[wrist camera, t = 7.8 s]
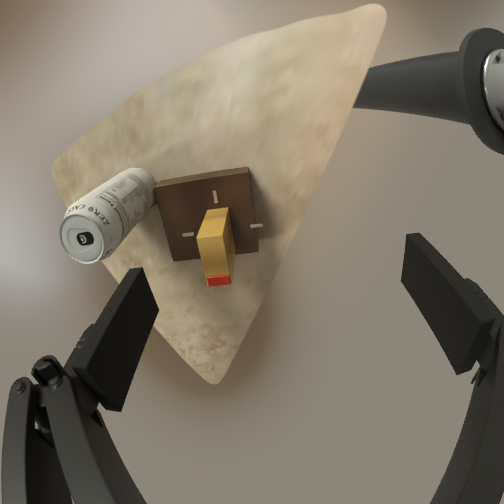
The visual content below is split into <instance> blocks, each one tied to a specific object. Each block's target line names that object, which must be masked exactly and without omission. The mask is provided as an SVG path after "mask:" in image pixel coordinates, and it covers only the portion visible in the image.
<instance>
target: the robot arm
mask: <svg viewBox="0 0 504 504" xmlns="http://www.w3.org/2000/svg"><path fill="white" fill-rule="evenodd" d="M480 86H481V92H482V97H483V101H484V104H485V107H486V109H487V112H488V114H489V116H490V118H491V119H492V121H493V122H494V124H495V125H496V126H497V127H498V128H499V129H500V130H501V131H502V132H504V49H492V50H490V51H489V52H487V53H486V55H485V56H484V58H483V60H482V63H481V69H480ZM401 282H402V283H403V285H404V286H405V288H406V289H407V291H408V292H409V294H410V296H411V297H412V299H413V300H414V302H415V303H416V305H417V306H418V308H419V310H420V311H421V313H422V315H423V316H424V318H425V319H426V321H427V323H428V324H429V326H430V328H431V329H432V331H433V333H434V335H435V336H436V338H437V340H438V341H439V343H440V345H441V347H442V349H443V350H444V352H445V354H446V356H447V358H448V360H449V361H450V363H451V365H452V367H453V369H454V371H455V373H456V375H459V374H461V373H464V372H467V371H469V370H471V369H472V367H473V365H474V363H475V362H476V360H477V361H478V363H479V364H480V367H479V369H478V371H477V372H476V374H475V376H474V377H473V379H472V381H471V384H473V382H474V381H475V385H474V388H473V393H472V396H471V401H470V404H469V408H468V411H467V414H466V418H465V421H464V424H463V427H462V430H461V433H460V436H459V439H458V442H457V444H456V447H455V450H454V452H453V455H452V458H451V460H450V462H449V465H448V467H447V469H446V472H445V474H444V476H443V478H442V480H441V483H440V485H439V487H438V489H437V491H436V493H435V495H434V497H433V499H432V501H431V502H430V504H499V503H500V500H501V498H502V495H503V492H504V315H503V314H502V313H501V312H500V310H499V309H498V308H497V307H496V305H495V304H494V303H493V302H492V301H491V300H490V299H489V298H488V296H487V295H486V294H485V293H483V290H482V289H481V288H480V287H479V286H478V285H477V284H476V283H475V282H473V281H472V280H470V279H468V278H466V279H463V278H462V277H461V275H460V274H459V273H458V272H457V271H456V270H455V269H454V268H453V267H452V266H451V264H450V263H449V262H448V261H447V260H446V259H445V258H444V257H443V256H442V255H441V254H440V253H439V252H438V251H437V250H436V249H435V248H434V247H433V246H432V245H431V244H430V243H429V242H428V241H427V240H426V239H425V238H424V237H423V236H422V235H421V234H420V233H412V234H407V235H406V244H405V253H404V261H403V270H402V277H401ZM158 312H159V308H158V306H157V304H156V301H155V299H154V296H153V294H152V291H151V289H150V286H149V283H148V281H147V278H146V276H145V273H144V270H143V268H142V267H141V268H132V269H129V271H128V272H127V274H126V275H125V277H124V278H123V280H122V281H121V283H120V284H119V286H118V287H117V289H116V290H115V292H114V294H113V295H112V297H111V298H110V300H109V302H108V303H107V305H106V306H105V308H104V310H103V311H102V313H101V315H100V316H99V318H98V320H97V321H96V323H95V324H91V325H90V326H89V327H88V328H87V329H86V330H85V331H84V333H83V335H82V336H81V338H80V341H78V343H77V345H76V348H74V350H73V352H72V353H71V355H70V357H69V359H68V360H67V362H66V364H65V366H64V368H63V367H62V366H61V364H60V363H59V362H58V361H57V359H56V357H54V356H52V355H47V356H44V357H42V358H41V359H39V360H38V361H37V362H36V363H35V364H34V366H33V368H32V372H31V374H32V375H33V377H34V378H35V379H36V380H37V382H38V383H39V384H35V385H34V384H33V383H32V382H31V380H30V379H29V378H27V377H21V378H19V379H17V380H16V381H15V382H14V383H13V385H12V386H11V389H10V394H9V399H8V405H7V411H6V418H5V427H4V437H3V448H2V450H3V451H2V504H72V498H73V501H74V503H75V504H147V503H146V502H145V500H144V498H143V497H142V495H141V493H140V492H139V490H138V488H137V487H136V485H135V483H134V481H133V480H132V478H131V476H130V474H129V473H128V471H127V469H126V467H125V465H124V463H123V461H122V459H121V457H120V455H119V453H118V451H117V449H116V447H115V445H114V443H113V441H112V439H111V437H110V434H109V432H108V430H107V428H106V425H105V423H104V421H103V418H102V416H101V413H100V412H99V410H98V409H97V406H98V403H99V402H100V403H101V405H102V406H103V407H104V408H105V409H106V410H111V411H117V412H121V411H122V408H123V405H124V402H125V399H126V396H127V393H128V390H129V387H130V385H131V382H132V379H133V376H134V374H135V371H136V368H137V366H138V363H139V360H140V357H141V355H142V352H143V349H144V347H145V344H146V342H147V339H148V337H149V334H150V331H151V329H152V327H153V324H154V322H155V319H156V317H157V314H158ZM35 422H36V423H37V424H38V429H36V428H35ZM71 496H72V498H71Z"/></svg>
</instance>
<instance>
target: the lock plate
mask: <svg viewBox="0 0 504 504" xmlns="http://www.w3.org/2000/svg"><path fill="white" fill-rule="evenodd" d="M154 190H155V194H156V198H157V202H158V206H159V210H160V214H161V218H162V222H163V225H164V229H165V233H166V236H167V240H168V244H169V247H170V251H171V254H172V258H173V261H182V260H191V259H200V258H201V256H200V252H199V247H198V243H197V239H196V238H197V235H198V233H199V230H200V227H201V225H202V222H203V220H204V217H205V215H206V212H207V210H211V209H219V208H226V207H228V208H229V214H230V220H231V226H232V232H233V237H234V243H235V254H243V253H251V252H259V245H258V235H257V227H263V225H262V224H256V220H255V213H254V206H253V198H252V191H251V184H250V177H249V170H248V167H242V168H235V169H228V170H221V171H215V172H208V173H202V174H196V175H190V176H184V177H179V178H173V179H168V180H163V181H161V182H159V183H158V184H157V185H156V186H155V187H154Z"/></svg>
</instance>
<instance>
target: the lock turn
mask: <svg viewBox="0 0 504 504" xmlns="http://www.w3.org/2000/svg"><path fill="white" fill-rule="evenodd" d="M196 239H197V243H198V247H199V252H200V256H201V260H202V264H203V268H204V272H205V277H206V281H207V285H208V286H217V285H227V284H232V279H233V269H234V259H235V243H234V237H233V232H232V226H231V220H230V214H229V208H228V207H226V208H219V209H211V210H207V212H206V215H205V217H204V220H203V222H202V225H201V227H200V230H199V233H198V235H197V238H196Z"/></svg>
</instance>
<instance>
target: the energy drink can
mask: <svg viewBox="0 0 504 504" xmlns="http://www.w3.org/2000/svg"><path fill="white" fill-rule="evenodd" d="M155 186H156V183H155V181H154V179H153V177H152V176H151V175H150V174H149V173H148V172H146V171H145V170H143V169H140V168H129V169H126V170H124V171H123V172H121V173H119V174H118V175H116V176H115V177H113V178H111V179H110V180H108V181H107V182H105V183H103V184H102V185H100V186H99V187H97V188H96V189H94V190H93V191H91V192H90V193H88V194H87V195H85V196H84V197H82V198H81V199H79V200H78V201H76V202H75V203H74V204H72V205H71V206H70V207H69V208H68V210H67V212H66V214H65V217H64V220H63V221H62V223H61V226H60V231H59V235H60V240H61V244H62V246H63V248H64V249H65V251H66V253H67V254H68V255H69V256H70V257H71V258H73V259H74V260H76V261H77V262H80V263H83V264H92V263H95V262H96V261H98V260H103V259H106V258H108V257H109V256H110V255H111V254H112V253H113V252H114V251H115V250H116V248H117V247H118V246H119V245H120V243H121V242H122V241H123V240H124V239H125V237H126V236H127V235H128V234H129V233H130V231H131V230H132V229H133V228H134V227H135V225H136V224H137V223H138V222H139V221H140V220H141V218H142V217H143V216H144V215H145V214H146V213H147V212H148V210H149V209H150V208H151V207H152V206H153V204H154V203H155V201H156V194H155V190H154V187H155Z"/></svg>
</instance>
